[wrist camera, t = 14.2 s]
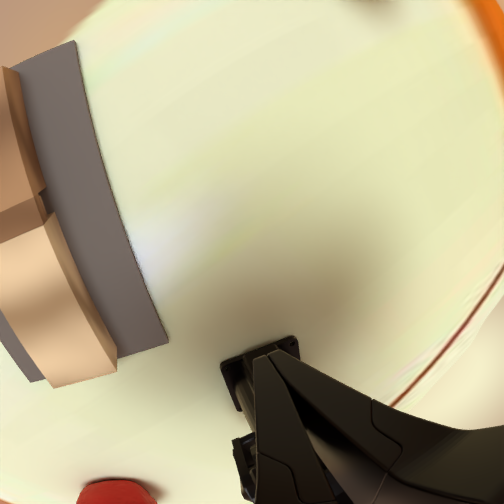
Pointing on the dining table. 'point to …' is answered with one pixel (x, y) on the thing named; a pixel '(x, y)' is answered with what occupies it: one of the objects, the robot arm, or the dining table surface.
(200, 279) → the dining table surface
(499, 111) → the dining table surface
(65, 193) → the underlay mat
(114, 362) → the birch plank
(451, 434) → the robot arm
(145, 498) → the pomegranate
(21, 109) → the wooden block
